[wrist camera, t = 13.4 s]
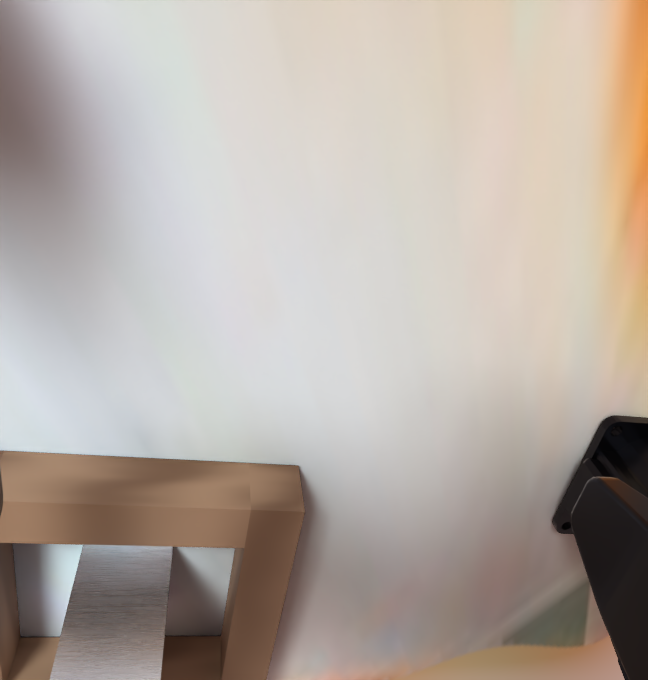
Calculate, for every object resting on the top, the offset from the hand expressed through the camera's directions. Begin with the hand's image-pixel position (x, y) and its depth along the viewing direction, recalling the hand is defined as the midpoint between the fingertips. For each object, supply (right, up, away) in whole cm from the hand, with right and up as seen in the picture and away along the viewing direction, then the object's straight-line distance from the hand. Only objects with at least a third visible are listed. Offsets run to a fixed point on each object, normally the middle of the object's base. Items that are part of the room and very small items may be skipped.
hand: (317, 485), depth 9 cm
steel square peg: (-8, -8, +18) cm, 21 cm away
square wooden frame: (-8, -8, +18) cm, 21 cm away
